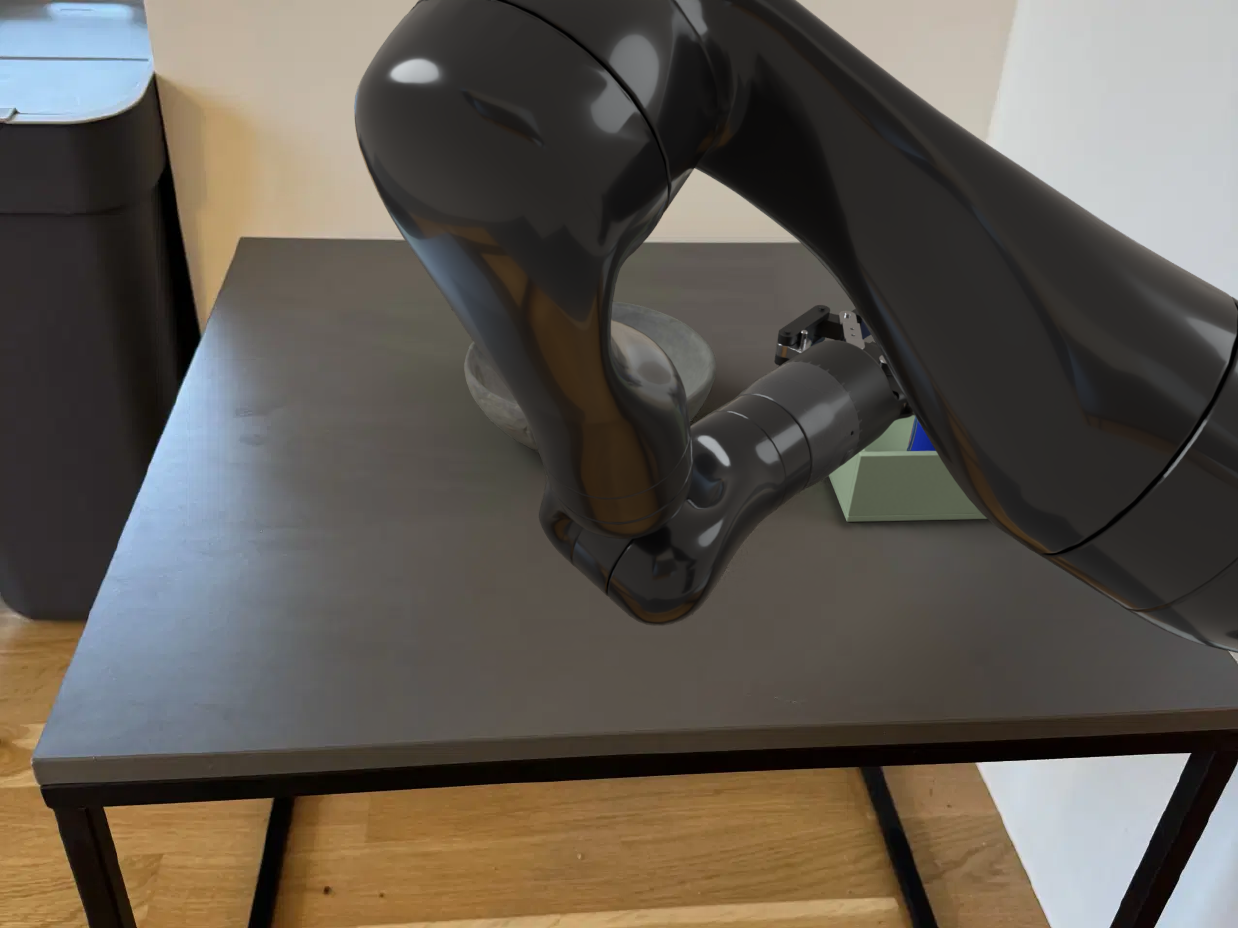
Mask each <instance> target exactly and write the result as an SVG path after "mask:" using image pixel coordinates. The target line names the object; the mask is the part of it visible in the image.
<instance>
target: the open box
mask: <svg viewBox="0 0 1238 928" xmlns="http://www.w3.org/2000/svg"><path fill="white" fill-rule="evenodd" d="M914 418H915V416H914V415H913V416H911V417H908V418H903V419H898V420H895V421H894V422H893V423H892V424H891V425H890V426H889V428H888V429H887V430H886V431H885V432H884V433H883V434H882V435H881V436H880V437H879V438H878V439H876V440H875V441H874V442H873V443H871V444H870V445H869V446H867V447H866V448H865V449H863V450H862V451H861V452H859V453H858V454H857V455H855V456H854V457H853V458H851V459H850V460H849V461H847V462H846V463H845V464H843V465H842V466H840V467H839V468H838V469H837V470H835V471H834V472H833V473H831V474H830V475H829V476H828V478H829V480H830V482H831V485H832V488H833V490H834V493H835V495H836V498H837V501H838V503H839V505H840V508H841V511H842V513H843V516H844V518H845V520H846V522H847V523H852V522H854V523H856V522H857V523H859V522H898V521H899V522H900V521H904V522H905V521H948V520H949V521H952V520H955V521H957V520H988V519H987V518H986V517H985V516H984V515H983V514H982V513H981V512H980V511H979V510H978V509H977V508H976V506H975V505H974V504H973V503H972V502H971V501H970V500H969V499H968V497H967V496H966V495H965V493H964V492H963V491H962V489H961V488H960V487H959V485H958V484H957V483H956V481H955V480H954V478H953V477H952V475H951V474H950V472H949V471H948V469H947V468H946V466H945V465H944V463H943V462H942V460H941V459H940V457H939V455H938V453H937V452H936V451H907V447H908V443H909V439H910V435H911V431H912V426H913V422H914Z"/></svg>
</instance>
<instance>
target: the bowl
mask: <svg viewBox="0 0 1238 928" xmlns="http://www.w3.org/2000/svg"><path fill="white" fill-rule="evenodd" d="M611 319H612V320H616V321H619V322H621V323H624V324H627V325H630V326H632V327H634V328H635V329H637V330H639V331H641V332H643V333H644V334H646V335H647V336H649V337H650V338H651V339H652V340H653V341H654V342H656V343H657V344H658V345H659V346H660V347H661V348H662V349H663V350H664V351H665V353H666V354H667V355H668V357H669V358H670V359H671V361H672V362H673V364H674V365H675V367H676V369H677V371H678V373H679V375H680V377H681V380H682V382H683V385H684V389H685V393H686V397H687V402H688V407H689V415H690V422H691V421H692V420H693V419H694V418H695V416H697V414H698V413H699V411H700V409H701V408H702V407H703V405H704V404H705V402H706V400H707V398H708V396H709V394H710V392H711V390H712V387H713V385H714V382H715V379H716V374H717V359H716V356H715V354H714V350H713V348H712V347H711V346H710V344H709V342H708V341H707V340H706V339H705V338H704V337H703V336H702V335H701V334H700V333H699V332H697V331H696V330H695V329H693V328H692V327H691V326H689V324H687V323H685V322H684V321H681V320H680V319H677V318H676V317H674V316H671V315H670V314H667V313H664V312H661V311H659V310H656V309H653V308H650V307H648V306H643V305H640V304H634V303H629V302H623V301H614V300H613V303H612V318H611ZM465 355H466V356H465V360H464V365H463V369H464V376H465V380H466V384H467V387H468V389H469V392H470V394H471V396H472V398H473V400H474V402H475V403H476V404H477V406H478V407H479V409H481V411H482V412H483V413H484V414H485V416H486V417H487V418H488V419H489V420H490V421H491V422H492V423H493V424H494V425H495V426H496V427H498V428H499V429H500V430H501V431H502V432H503V433H505V434H506V435H508V436H509V437H510V438H511V439H513V440H515V441H517V442H518V443H520V444H521V445H524V446H525V447H528V448H529V449H531V450H535V451H537V452H539V451H538V448H537V445H536V442H535V439H534V436H533V433H532V430H531V428H530V425H529V423H528V421H527V419H526V417H525V415H524V413H523V412H522V410H521V408H520V406H519V405H518V403H517V401H516V400H515V399H514V397H513V396H512V394H511V393H510V391H509V390H508V389H507V387H506V386H505V384H504V383H503V381H502V380H501V379H500V377H499V376H498V375H497V373H496V372H495V371H494V369H493V368H492V366H491V365H490V363H489V362H488V360H487V359H486V358H485V356H484V355H483V354H482V352H481V351H480V350H479V349H478V347H477V346H476V344H475V343H474V342H473V341H472V342H471V344H470V345H469V346H468V350H467V352H466V354H465Z"/></svg>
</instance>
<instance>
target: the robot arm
mask: <svg viewBox="0 0 1238 928" xmlns="http://www.w3.org/2000/svg"><path fill="white" fill-rule="evenodd" d="M353 113H354V128H355V134H356V139H357V143H358V147H359V151H360V153H361V157H362V159H363V162H364V165H365V168H366V170H367V173H368V176H369V177H370V179H371V181H372V184H373V186H374V188H375V190H376V192H377V194H378V197H379V198H380V201H381V202H382V204H383V206H384V207H385V209H386V211H387V213H388V215H389V217H390V218H391V221H392V222H393V223H394V225H395V226H396V228H397V230H398V232H399V233H400V235H401V236H402V238H403V240H404V241H405V242H406V244H407V246H408V247H409V249H410V250H411V252H412V254H414V256H415V257H416V259H417V260H418V263H420V265H421V266H422V267H423V269H424V271H425V272H426V274H427V275H428V277H429V279H430V280H431V281H432V282H433V284H434V286H435V287H436V288H437V290H438V291H439V293H440V294H441V295H442V297H443V298H444V300H445V302H446V303H447V304H448V306H449V308H450V309H451V311H452V312H453V313H454V315H455V316H456V318H457V319H458V321H459V323H460V324H461V326H462V327H463V328H464V330H465V332H466V334H468V336H469V337H470V339H471V340H472V342H474V343H475V344H476V346H477V347H478V349H479V350H480V351H481V352H482V354H483V355H484V356H485V358H486V359H487V360H488V362H489V363H490V365H491V366H492V368H493V369H494V371H495V372H496V373H497V375H498V376H499V377H500V379H501V380H502V381H503V383H504V384H505V386H506V387H507V389H508V390H509V391H510V393H511V394H512V396H513V397H514V399H515V400H516V401H517V403H518V405H519V406H520V408H521V410H522V412H523V413H524V415H525V417H526V419H527V421H528V423H529V425H530V428H531V430H532V433H533V436H534V439H535V442H536V445H537V448H538V451H537V452H538V454H539V458H540V460H541V464H542V466H543V469H544V471H545V474H546V482H545V485H544V490H543V491H544V492H543V496H542V500H541V502H540V506H539V510H538V518H539V519H538V520H539V524H540V526H541V529H542V531H543V533H544V535H545V536H546V538H547V539H548V541H549V542H550V544H551V545H552V547H554V549H555V550H556V551H557V552H558V554H560V555H561V556H562V557H563V558H564V559H565V560H566V561H567V562H568V563H569V564H571V565H572V566H573V567H574V568H576V569H577V571H578V572H580V573H581V574H582V575H583V576H584V577H585V578H586V579H588V581H590V582H591V583H592V584H593V585H594V586H595V587H596V588H598V589H599V591H600V592H602V593H603V594H604V595H606V597H607V598H609V599H610V600H611V601H612V602H613V603H614V604H615V605H616V606H617V607H618V608H619V609H620V610H622V612H624V613H625V614H627V616H628V617H630V618H632V619H633V620H635V621H636V622H638V623H640V624H643V625H646V626H653V627H661V626H662V627H663V626H668V625H674V624H676V623H680V622H682V621H684V620H686V619H688V618H689V617H691V616H692V615H693V614H695V613H696V612H697V611H698V610H699V609H701V607H702V606H703V605H704V604H705V602H706V601H707V600H708V598H709V597H710V596H711V594H712V593H713V592H714V590H715V589H716V587H717V586H718V583H719V581H720V580H721V578H722V576H723V575H724V574H725V572H726V570H727V568H728V566H729V564H730V563H731V561H732V560H733V558H734V557H735V555H736V554H737V552H738V550H739V549H740V547H741V546H742V545H743V543H744V542H745V541H746V540H747V538H748V537H749V536H750V535H751V533H752V532H753V531H754V530H755V529H756V528H757V526H758V525H760V524H761V522H763V521H764V520H765V519H766V518H767V517H769V516H770V515H771V514H772V513H774V512H775V511H776V510H777V509H779V508H780V507H782V506H783V505H784V504H785V503H787V502H788V501H790V500H791V499H792V498H794V497H795V496H797V494H799V493H801V492H802V491H805V490H806V489H809V488H810V487H813V486H815V485H817V484H818V483H820V482H821V481H823V480H825V479H826V478H827V477H829V475H830V474H831V473H833V472H834V471H835V470H837V469H838V468H839V467H840V466H842V465H843V464H845V463H846V462H847V461H849V460H850V459H851V458H853V457H854V456H855V455H857V454H858V453H859V452H861V451H862V450H863V449H865V448H866V447H867V446H869V445H870V444H871V443H873V442H874V441H875V440H876V439H878V438H879V437H880V436H881V435H882V434H883V433H884V432H885V431H886V430H887V429H888V428H889V426H890V425H891V424H892V423H893V422H894V421H895V420H898V419H903V418H908V417H911V416H913V415H914V416H916V418H917V420H918V422H919V423H920V425H921V427H922V428H923V430H924V432H925V433H926V435H927V437H928V438H929V440H930V442H931V443H932V445H933V447H934V448H935V450H936V452H937V453H938V455H939V457H940V459H941V460H942V462H943V463H944V465H945V466H946V468H947V469H948V471H949V472H950V474H951V475H952V477H953V478H954V480H955V481H956V483H957V484H958V485H959V487H960V488H961V489H962V491H963V492H964V493H965V495H966V496H967V497H968V499H969V500H970V501H971V502H972V503H973V504H974V505H975V506H976V508H977V509H978V510H979V511H980V512H981V513H982V514H983V515H984V516H985V517H986V518H987V519H986V520H988V521H990V522H991V523H992V524H993V525H994V526H995V527H996V528H998V529H999V530H1000V531H1002V532H1003V533H1005V534H1007V535H1008V536H1009V537H1011V538H1012V539H1013V540H1015V541H1016V542H1018V543H1019V544H1021V545H1022V546H1024V547H1025V548H1027V549H1028V550H1030V551H1031V552H1033V553H1035V554H1036V555H1038V556H1040V557H1042V558H1043V559H1045V560H1047V561H1048V562H1050V563H1051V564H1053V565H1054V566H1056V567H1058V568H1059V569H1061V570H1062V571H1064V572H1066V573H1067V574H1068V575H1070V576H1072V577H1073V578H1076V579H1077V580H1079V581H1080V582H1081V583H1083V584H1085V585H1086V586H1088V587H1089V588H1091V589H1093V590H1094V591H1096V592H1098V593H1099V594H1101V595H1102V596H1104V597H1105V598H1107V599H1109V600H1111V601H1112V602H1114V603H1115V604H1118V605H1119V606H1120V607H1121V608H1123V609H1124V610H1126V611H1127V612H1130V613H1131V614H1133V615H1135V616H1136V617H1138V618H1140V619H1142V620H1144V621H1145V622H1148V623H1150V624H1151V625H1153V626H1155V627H1156V628H1158V629H1161V630H1163V631H1165V632H1167V633H1169V634H1172V635H1174V636H1176V637H1179V638H1181V639H1185V640H1188V641H1189V642H1193V643H1195V644H1198V645H1201V646H1205V647H1210V648H1214V649H1218V650H1223V651H1226V652H1231V653H1236V654H1238V299H1237V298H1235V297H1234V296H1231V295H1230V294H1229V293H1227V292H1226V291H1224V290H1222V289H1220V288H1218V287H1217V286H1215V285H1213V284H1211V283H1210V282H1208V281H1206V280H1204V279H1202V278H1201V277H1199V276H1197V275H1196V274H1193V273H1192V272H1191V271H1188V270H1187V269H1185V268H1183V267H1181V266H1179V265H1177V264H1175V263H1174V262H1173V261H1170V260H1169V259H1166V258H1165V257H1164V256H1162V255H1160V254H1159V253H1157V252H1155V251H1153V250H1151V249H1149V248H1148V247H1146V246H1144V245H1143V244H1141V243H1139V242H1138V241H1137V240H1135V239H1134V238H1131V237H1130V236H1129V235H1126V234H1125V233H1123V232H1122V231H1121V230H1119V229H1116V228H1115V227H1114V226H1112V225H1111V224H1109V223H1107V222H1106V221H1104V220H1103V219H1101V218H1100V217H1099V216H1097V215H1095V214H1094V213H1093V212H1090V211H1089V210H1088V209H1086V208H1085V207H1083V206H1082V205H1080V204H1079V203H1078V202H1076V201H1074V200H1072V199H1071V198H1069V197H1068V196H1066V195H1065V194H1063V193H1062V192H1061V191H1059V190H1057V189H1056V188H1054V187H1053V186H1051V184H1049V183H1047V182H1045V181H1044V180H1043V179H1041V178H1039V176H1036V175H1035V174H1033V173H1032V172H1031V171H1029V170H1028V169H1026V168H1024V167H1023V166H1021V165H1020V164H1018V163H1017V162H1015V161H1014V160H1013V159H1011V158H1009V157H1008V156H1007V155H1005V154H1003V153H1002V152H1000V151H999V150H997V149H995V148H994V147H993V146H991V145H990V144H988V143H986V141H984V140H982V139H981V138H979V137H977V136H976V135H974V134H973V133H972V132H970V131H969V130H968V129H966V128H964V127H963V126H962V125H960V124H959V123H957V122H956V121H954V120H953V119H952V118H950V117H949V116H947V115H946V114H944V113H943V112H941V111H940V110H939V109H937V108H936V107H935V106H933V105H932V104H931V103H929V102H928V101H927V100H925V99H924V98H923V97H921V96H920V95H918V94H917V93H916V92H915V91H913V90H912V89H910V88H909V87H908V86H906V85H905V84H904V83H902V81H900V80H899V79H897V78H896V77H895V76H894V75H892V74H890V72H888V71H887V70H886V69H884V68H883V67H882V66H880V65H879V64H878V63H876V62H875V61H874V60H872V59H871V58H870V57H869V56H867V55H866V54H865V53H864V52H863V51H861V50H860V49H859V48H858V47H856V46H855V45H853V43H852V42H849V40H847V39H846V38H845V37H844V36H842V35H841V34H840V33H838V32H837V31H835V30H834V29H833V28H832V27H830V26H829V25H828V24H827V23H826V22H824V21H823V20H822V19H821V18H819V17H818V16H816V15H815V14H814V13H813V12H812V11H810V10H809V9H808V8H807V7H805V6H804V5H803V4H801V3H800V2H799V1H798V0H417V2H416V3H415V5H414V6H413V7H412V8H411V9H410V10H409V11H408V13H406V14H405V15H404V16H403V17H402V19H401V20H400V21H399V22H398V23H397V24H396V26H395V27H394V28H393V30H392V31H391V32H390V33H389V34H388V36H387V38H386V39H385V40H384V41H383V43H382V44H381V46H380V47H379V49H378V50H377V51H376V54H375V55H374V56H373V58H372V59H371V61H370V63H369V65H368V66H367V68H366V69H365V71H364V73H363V75H362V76H361V78H360V80H359V83H358V85H357V89H356V91H355V95H354V105H353ZM695 169H696V170H697V171H699V172H701V173H703V174H705V175H706V176H708V177H710V178H711V179H713V180H715V181H716V182H718V183H720V184H722V185H723V186H725V187H726V188H728V189H729V190H731V191H733V192H734V193H735V194H737V195H739V196H740V197H741V198H742V199H744V200H745V201H747V202H748V203H749V204H751V205H752V206H753V207H754V208H756V209H757V210H759V211H760V212H761V213H762V214H764V215H766V216H767V217H768V218H769V219H771V220H772V221H773V222H775V224H777V225H778V226H779V227H781V228H782V229H783V230H784V231H786V232H787V233H789V235H791V236H792V237H793V238H795V239H796V240H797V241H798V242H799V243H800V244H801V245H802V246H803V247H804V248H806V249H807V250H808V252H810V253H811V254H812V255H813V257H815V258H816V259H817V260H818V262H819V263H820V264H821V265H822V266H823V267H824V268H825V269H826V270H827V271H828V273H829V274H830V275H831V276H832V277H833V279H834V280H835V281H836V283H837V284H838V285H839V286H840V288H841V289H842V291H843V292H844V293H845V294H846V296H847V297H848V299H849V300H850V301H851V303H852V304H853V306H854V309H853V310H851V311H850V310H842V311H840V312H839V313H838V314H836V313H831V308H830V307H829V306H827V305H825V304H817V305H814V306H813V307H811V308H810V309H808V310H807V311H806V312H805V311H804V313H802V314H800V315H799V316H798V317H797V318H795V319H794V320H792V321H790V322H789V323H787V324H786V325H785V326H782V328H780V329H779V330H778V334H777V340H776V345H775V346H776V347H775V353H774V364H775V365H777V367H775V368H774V369H771V371H769V372H767V373H765V374H764V375H762V376H760V377H759V378H757V379H756V380H755V381H753V382H751V383H750V384H749V385H748V386H747V387H746V388H744V389H743V390H742V391H741V392H740V393H739V394H738V395H737V396H735V397H734V398H733V399H731V400H729V401H728V402H726V403H725V404H723V405H720V407H718V408H716V409H715V410H713V411H711V412H710V413H708V414H707V415H705V416H704V417H702V418H701V419H698V420H696V421H695V422H694V423H693V424H691V421H690V415H689V407H688V402H687V397H686V393H685V389H684V385H683V382H682V380H681V377H680V375H679V373H678V371H677V369H676V367H675V365H674V364H673V362H672V361H671V359H670V358H669V357H668V355H667V354H666V353H665V351H664V350H663V349H662V348H661V347H660V346H659V345H658V344H657V343H656V342H654V341H653V340H652V339H651V338H650V337H649V336H647V335H646V334H644V333H643V332H641V331H639V330H637V329H635V328H634V327H632V326H630V325H627V324H624V323H621V322H619V321H616V320H612V319H611V318H612V303H613V301H614V297H615V291H616V286H617V281H618V277H619V274H620V271H621V268H622V267H623V265H624V263H625V262H626V261H627V259H628V258H629V257H630V256H632V255H633V254H634V253H635V252H636V251H637V250H638V249H639V248H641V246H642V245H643V243H644V242H645V241H646V240H647V239H648V238H649V237H650V236H651V234H652V233H653V232H654V230H655V229H656V228H657V226H658V224H659V223H660V221H661V220H662V218H663V216H664V214H665V213H666V211H667V210H668V208H669V207H670V205H671V204H672V202H673V201H674V200H675V198H676V196H677V195H678V193H679V192H680V190H682V188H683V186H684V185H685V183H686V182H687V180H688V179H689V177H690V176H691V174H692V173H693V172H694V170H695ZM869 336H871V337H872V339H873V340H874V341H870V342H867V341H865V339H867V338H868V337H869ZM826 339H829V340H826Z"/></svg>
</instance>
